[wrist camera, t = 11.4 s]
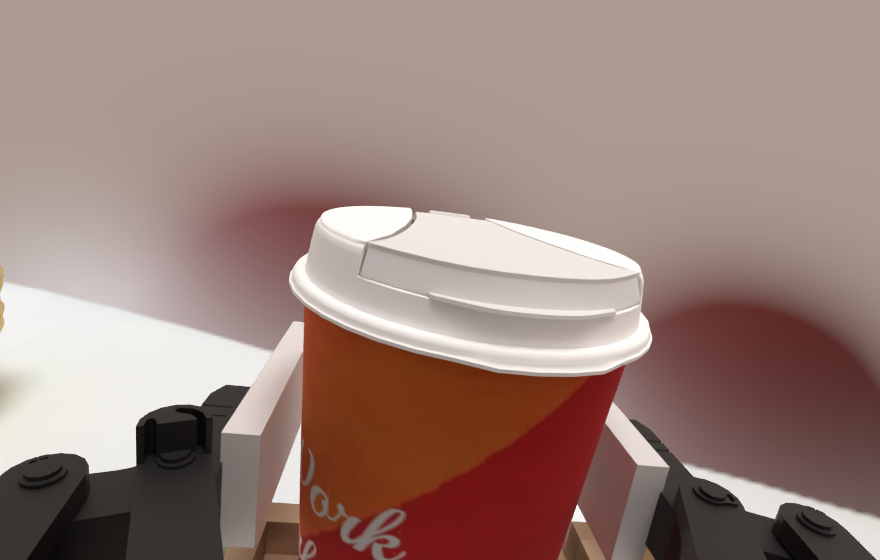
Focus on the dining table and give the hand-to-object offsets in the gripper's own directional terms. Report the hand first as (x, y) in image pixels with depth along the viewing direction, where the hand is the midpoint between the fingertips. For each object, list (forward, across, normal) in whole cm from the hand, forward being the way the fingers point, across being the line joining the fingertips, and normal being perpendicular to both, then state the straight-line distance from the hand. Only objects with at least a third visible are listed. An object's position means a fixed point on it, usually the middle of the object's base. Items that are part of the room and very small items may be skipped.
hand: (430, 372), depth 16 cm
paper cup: (-5, 0, -8) cm, 10 cm away
